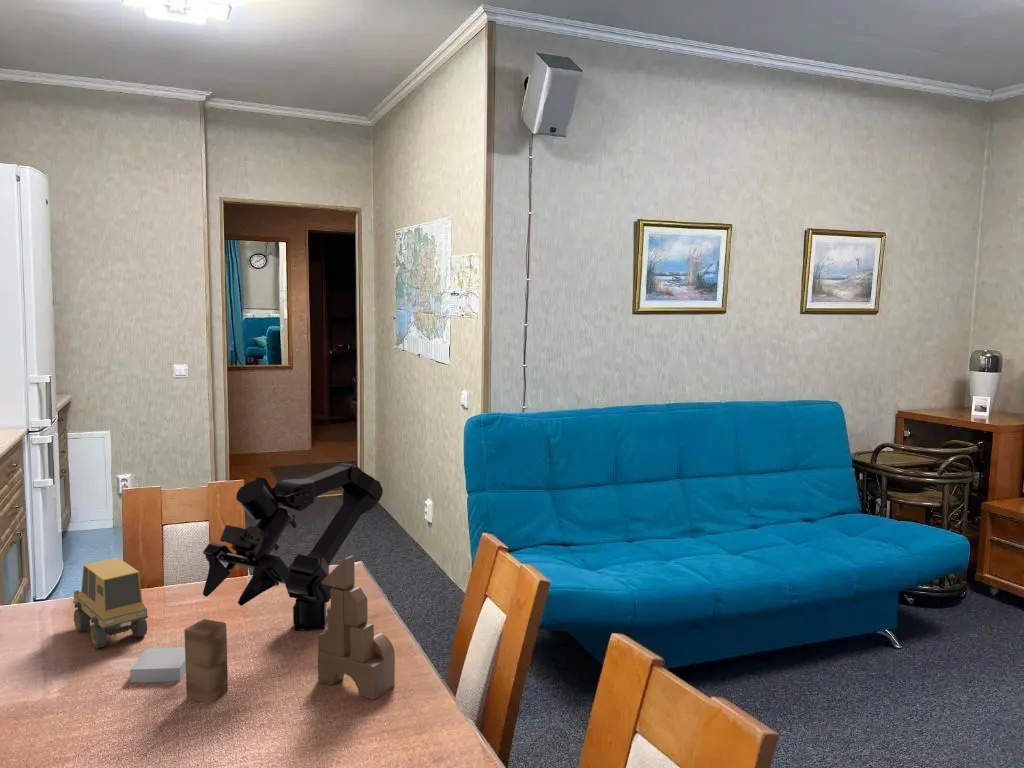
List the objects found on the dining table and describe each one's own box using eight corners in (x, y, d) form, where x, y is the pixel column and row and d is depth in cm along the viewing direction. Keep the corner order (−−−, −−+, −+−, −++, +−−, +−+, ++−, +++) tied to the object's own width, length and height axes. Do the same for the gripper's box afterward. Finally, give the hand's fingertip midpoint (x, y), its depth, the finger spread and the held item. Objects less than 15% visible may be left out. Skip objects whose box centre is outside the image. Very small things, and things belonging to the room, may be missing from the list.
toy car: (120, 614, 179) (118, 550, 177) (152, 640, 165) (150, 571, 164) (70, 627, 172) (67, 560, 170) (100, 656, 158) (97, 584, 156)
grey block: (194, 661, 157) (194, 647, 157) (180, 683, 148) (179, 668, 148) (148, 662, 156) (147, 648, 156) (130, 684, 147) (130, 669, 147)
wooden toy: (397, 685, 148) (397, 556, 145) (373, 700, 142) (373, 566, 139) (335, 665, 156) (334, 542, 153) (311, 678, 150) (309, 551, 147)
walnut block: (205, 685, 147) (204, 618, 145) (228, 690, 145) (226, 622, 143) (186, 698, 142) (184, 629, 140) (209, 703, 140) (207, 633, 139)
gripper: (212, 503, 159) (164, 568, 149) (282, 515, 151) (236, 586, 141) (240, 535, 166) (195, 599, 157) (308, 548, 158) (266, 617, 148)
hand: (221, 600), depth 151 cm, fingers open, 9 cm apart
